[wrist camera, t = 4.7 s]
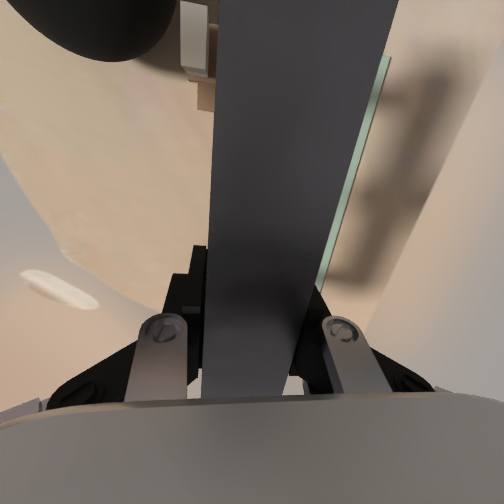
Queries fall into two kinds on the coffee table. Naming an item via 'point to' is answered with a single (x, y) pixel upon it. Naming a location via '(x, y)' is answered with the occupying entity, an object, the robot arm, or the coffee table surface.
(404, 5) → the coffee table surface
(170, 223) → the coffee table surface
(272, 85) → the rail
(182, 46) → the rack
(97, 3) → the decorative ball
